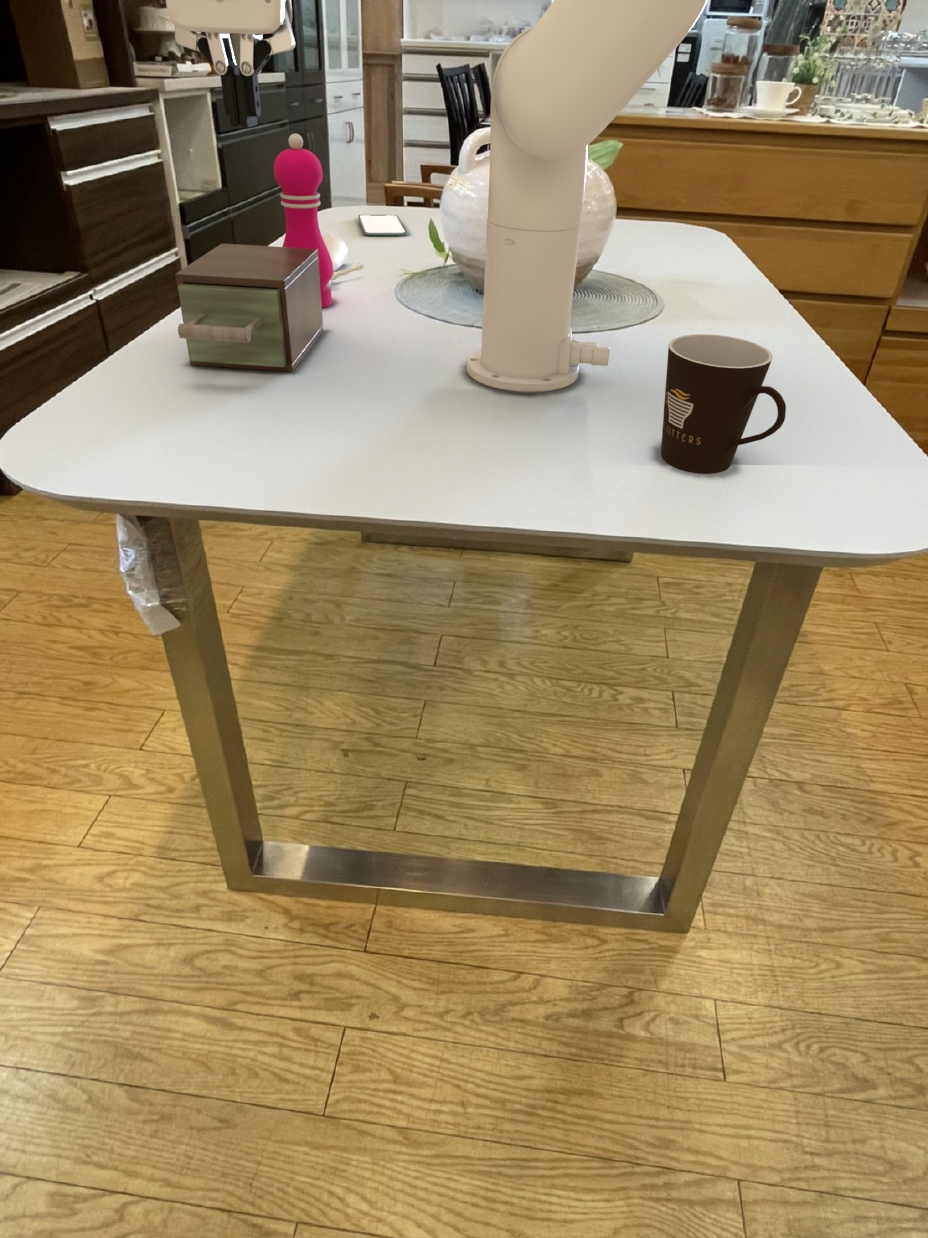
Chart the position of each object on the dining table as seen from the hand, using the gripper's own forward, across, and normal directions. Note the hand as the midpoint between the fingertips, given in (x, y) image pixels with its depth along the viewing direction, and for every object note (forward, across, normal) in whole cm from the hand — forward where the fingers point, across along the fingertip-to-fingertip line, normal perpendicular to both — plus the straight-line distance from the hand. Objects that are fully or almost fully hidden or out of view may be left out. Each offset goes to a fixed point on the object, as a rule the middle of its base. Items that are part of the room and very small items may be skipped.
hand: (244, 125), depth 76 cm
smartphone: (+23, -1, +77) cm, 80 cm away
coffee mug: (+23, +45, -18) cm, 54 cm away
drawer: (+22, -3, +1) cm, 22 cm away
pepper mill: (+23, -2, +25) cm, 34 cm away
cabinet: (+23, -3, +6) cm, 24 cm away
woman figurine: (+23, -3, +40) cm, 46 cm away
